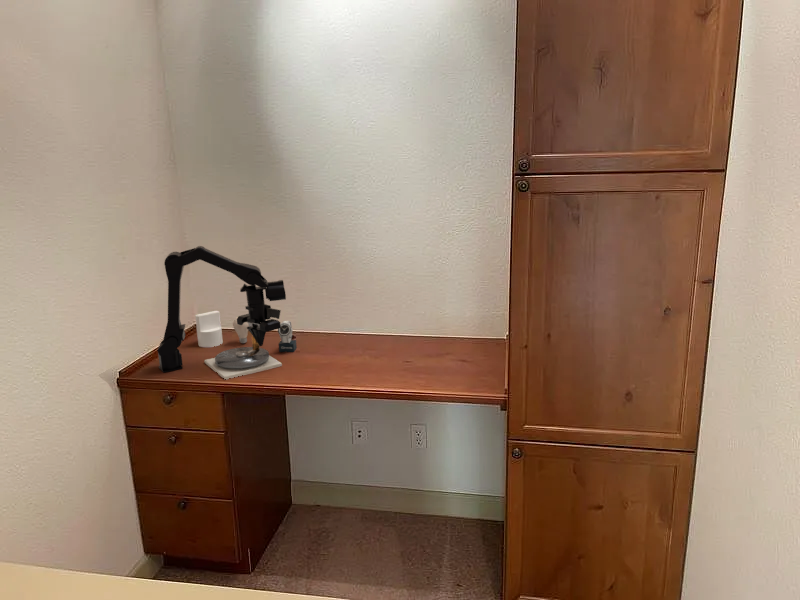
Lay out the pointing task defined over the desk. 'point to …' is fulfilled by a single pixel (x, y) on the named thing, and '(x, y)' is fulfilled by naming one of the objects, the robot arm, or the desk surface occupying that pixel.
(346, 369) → the desk surface
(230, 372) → the wheel base
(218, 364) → the handwheel
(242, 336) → the light bulb
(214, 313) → the base with upright slab
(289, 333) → the watch
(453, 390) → the desk surface
